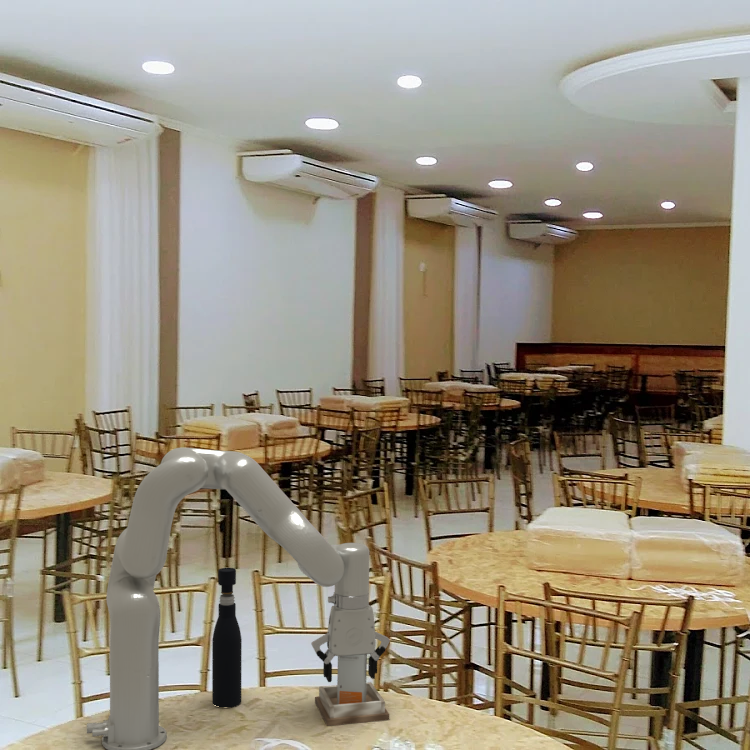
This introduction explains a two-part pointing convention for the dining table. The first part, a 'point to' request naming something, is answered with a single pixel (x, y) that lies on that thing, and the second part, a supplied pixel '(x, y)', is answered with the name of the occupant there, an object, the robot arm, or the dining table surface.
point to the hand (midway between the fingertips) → (350, 678)
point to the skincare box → (351, 679)
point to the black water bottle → (226, 646)
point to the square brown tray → (350, 707)
